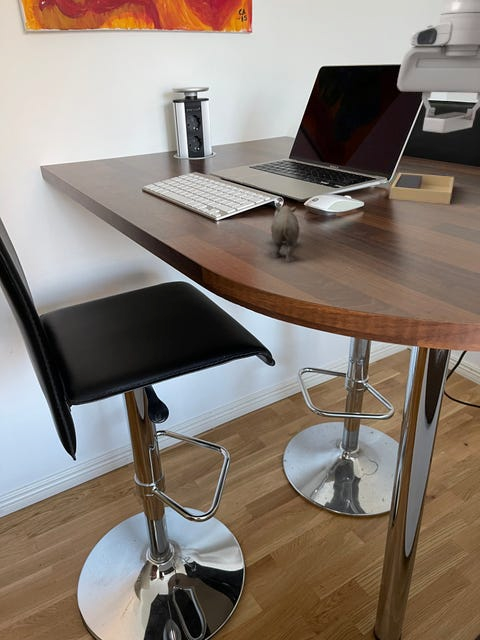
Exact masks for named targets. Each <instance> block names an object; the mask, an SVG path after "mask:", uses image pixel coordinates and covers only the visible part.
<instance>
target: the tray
mask: <svg viewBox="0 0 480 640" xmlns="http://www.w3.org/2000/svg"><path fill="white" fill-rule="evenodd" d="M403 174H405V175H418V176H422V180H421V186H420V188H419V189H413V188H402V187H396V186H397V184H398V183H399V181H400V179H401V177H402V175H403ZM454 180H455V177H454V176H448V175H445V176H444V175H433V174H421V173H407V172H398V174H397V176H396V178H395V179H394V181H393V183H392V185H391V186H390V189H389V190H390V191H389V197H388V199H389V200H401V201H412V202H422V203H431V204H442V205H443V204H444V205H450V203H451V199H452V195H453V194H452V193H453V186H454V182H455V181H454Z"/></svg>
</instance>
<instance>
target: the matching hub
mask: <svg viewBox="0 0 480 640" xmlns="http://www.w3.org/2000/svg"><path fill="white" fill-rule="evenodd" d="M421 180H422V176H418V175H405V174H403V175H402V177H401V179H400V181H399V183H398V184H397V186H396V187H402V188H413V189H419V188H420V186H421Z"/></svg>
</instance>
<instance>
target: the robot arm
mask: <svg viewBox="0 0 480 640" xmlns="http://www.w3.org/2000/svg"><path fill="white" fill-rule="evenodd" d="M409 42H410V45H411V46H412V47H410V48H409V49H407V51H406V52H405V53H404V55H403V58H402V61H401V64H400V68H399V72H398V77H397V83H396V87H397V89H398V90H399V91H400V92H410V93H411V92H413V93H414V92H415V93H416V92H418V93H419V92H420V93H422V96H421V100H422V103H423V106H424V107H425V116H424V118H425V117H429V116H435V111H436V107H432V106H431V104H430V102H429V99H430V98H431V96H432V93H465V94H467V93H469V94H476V100H477V102H476V103H475V104H474V106H473V107H472V108H467V110H466V113H467V115H466V120H473V121H475V118H476V112H477V111H478V109H479V108H480V0H444V4H443V5H442V9H441V11H440V17H439V22H438V23H437V24H434V25H428V26H427V27H426V28H425V27H424V28H422V29H420V30H417V31H414V32H413V33H412V34H411V36H410V41H409Z"/></svg>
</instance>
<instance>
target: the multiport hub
mask: <svg viewBox="0 0 480 640" xmlns="http://www.w3.org/2000/svg"><path fill="white" fill-rule="evenodd" d="M466 115H467V112H456V111H453V112H447V113H442V114H441V113H440V114H436V115H435V114H434V116H429V117H425V116H424V119H423V125H422V131H423V132H431V133H440V134H446V133H450V132H456V131H461V130H465V129H470V128H473V123H474V120H466Z"/></svg>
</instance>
